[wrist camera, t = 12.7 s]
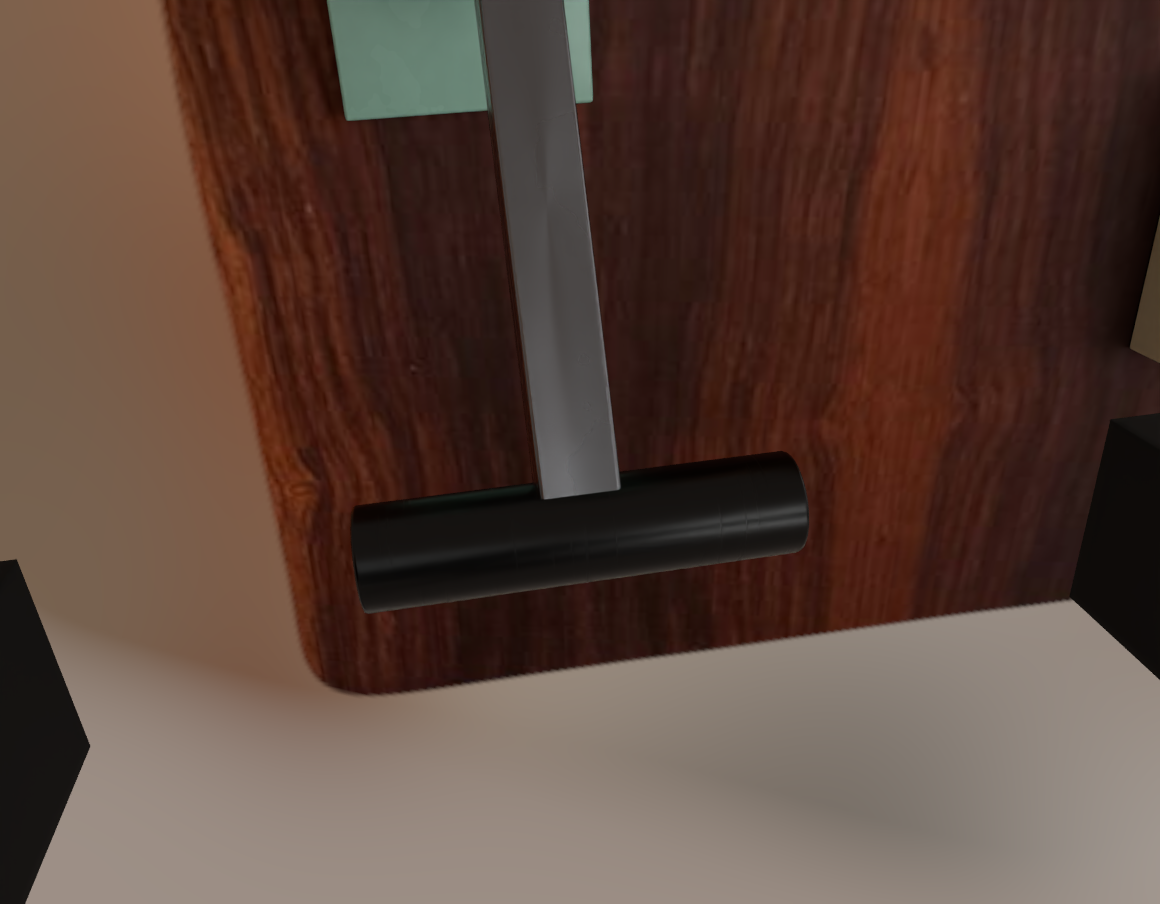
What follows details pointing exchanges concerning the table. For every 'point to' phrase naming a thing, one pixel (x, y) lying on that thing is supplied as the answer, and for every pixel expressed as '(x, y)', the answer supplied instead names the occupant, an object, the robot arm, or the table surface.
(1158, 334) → the dial panel
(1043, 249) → the table surface
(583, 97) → the green lever stand
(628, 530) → the lever handle
